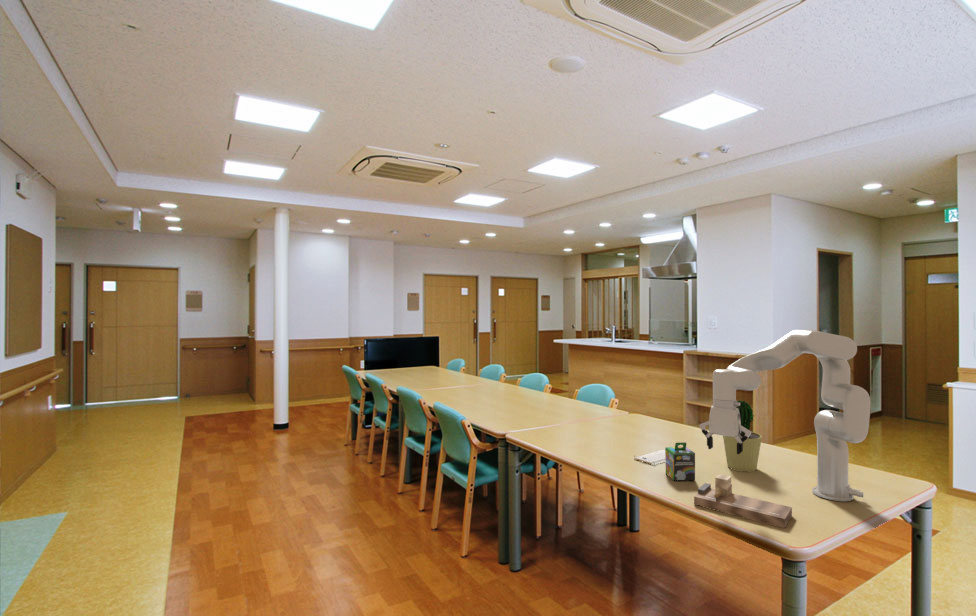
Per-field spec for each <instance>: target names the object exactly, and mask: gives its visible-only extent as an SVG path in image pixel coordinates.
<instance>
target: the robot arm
mask: <svg viewBox="0 0 976 616" xmlns="http://www.w3.org/2000/svg"><path fill="white" fill-rule="evenodd" d="M856 343H857V342H855V340H853V339H852V338H850V337H848V336H845V335H839V334H835V333H834V334H833V333H830V332H829V333H828V332H824V331H819V330H813V329H812V330H811V329H794V330H792V331H789V332H788V333H787V334H785V335H783V336H782V337H781V338H779V339H778V340H776V341H775V342H774V343H772V344H770V345H769V346H767V347H766V348H764V349H761V350H758V351H755V352H754V353H753V352H752V353H751V354H747V355H745V356H743V357H741V358H739V359H738V360H735V361H734V362H733V363H731V364H730V365H728V366H727V367H726V368H725V369H724V368H722V369H721V368H718V369H715V370H713V372H712V405H711V407H710V410H709V411H710V412H709V416H708V420H707V421H704V422H702V423H700V424H698V427H699V428H700V430H701V432H702V434H703V435H704V436H705V438H706V446H707V448H708V450H712V449H713V448H714V438H713V436H712V435H718V436H722V437H723V436H729V437H735V439H736V440H737V441H738V443H737V454H740V453H741V452H743V442H744V441H745V440H746V439H748V437H749V436H750V434H751V432H752V430H750V429H749V430H750V431H749V430H748V429H746V428H745V427H743V426H741V421H740V413H739V409H738V408H736V406H740V402H737V399H736V398H737V390H740V391H755V390H757V389H758V388H759V387H760V386H761V383H762V379H761V376H760V374H759V372H763V371H773V370H777V369H781V368H784V367H786V366H787V365H789V363H791V362H792V361H794V360H795V359H796V358H798V357H800V356H801V355H803V354H810V355H814V356H815V357H816V359H817V360H818V361H819V362H820V364H821V367H822V379H821V389H820V390H821V392H820V394H821V395H820V396H821V397H820V398H821V401H822V403H824V404H825V405H827V406H828V407H832V408H834V409H838V410H839V409H840V410H843V412H840V411H836V410H831V409H824V410H823V409H822V410H820V411H818V412H817V413H816V415H815V416H814V420H813V426H814V430H815V433H816V435H815V436H816V445H817V446H816V447H817V449H816V450H817V451H816V452H817V458H816V460H817V461H816V462H817V463H816V465H817V466H816V467H817V469H816V472H817V477H816V481H817V482H816V484H817V485H816V486H814V487H812V489H811V490H812V491H811V492H812V493H813V494H814V495H816V496H818V497H819V498H823V499H826V500H830V501H835V502H851V500H852V501H853V500H854V497H855V496H856V497H859V498H864V491H860V489H854V488H852V487H851V484H850V483H849V448H848V447H849V446H848V443H852V444H859V443H862V442H863V441H865V439H866V438H867V436H868V434H869V428H870V416H871V407H872V406H871V405H872V404H871V401H872V400H871V397H870V395H869V392H868V391H867V390H866V389H864V388H863V387H861V386H859V385H855V384H851V376H852V375H851V374H852V373H851V366H850V364H849V362H848V360H849V361H850V360H851V359H853V358H854V357H855V356H856V355H857V352H858V346H857V344H856ZM707 426H708V430H707V429H706V427H707ZM741 431H743V432H745V436H744V437H743V438H742V437H741V435H740V434H741ZM847 442H848V443H847Z"/></svg>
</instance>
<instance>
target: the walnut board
mask: <svg viewBox="0 0 976 616" xmlns="http://www.w3.org/2000/svg"><path fill="white" fill-rule="evenodd" d="M711 485H712V484H711V483H706V482H704V483H703V484H702V485H701V486H700V487H698V488H697V494H696V493H695V495H694V496H693V502H694V503H693V505H694V504H696V505H695V506H697V505H700V506H699V507H701V506H704V507H708V508H711V509H710V510H712V509H715V510H714V511H716V510H719V511H718V512H720V511H722V512H721V513H724V512H726V513H725V514H728V513H729V514H728V515H731V514H733V515H732V516H735V515H736V517H739V516H740V517H739V518H743V517H744V519H747V518H748V520H752V521H755V522H760V523H763V524H766V525H767V524H768V525H770V526H775V527H778V528H781V529H785V528H786V527H787V525H788V524H789V522H790V520H791V519H792V517H793V507H792V506H788V505H783V504H780V503H775V502H770V501H767V500H762V499H757V498H754V497H749V496H744V495H741V494H737V493H733V492H732V493H731V494H730V495H729V496H728V497H725V496H721V495H720V496H719V497H718V500H716V498H715V497H714V495H715V488H712V487H711ZM704 507H703V508H704ZM708 508H707V509H708Z"/></svg>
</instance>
